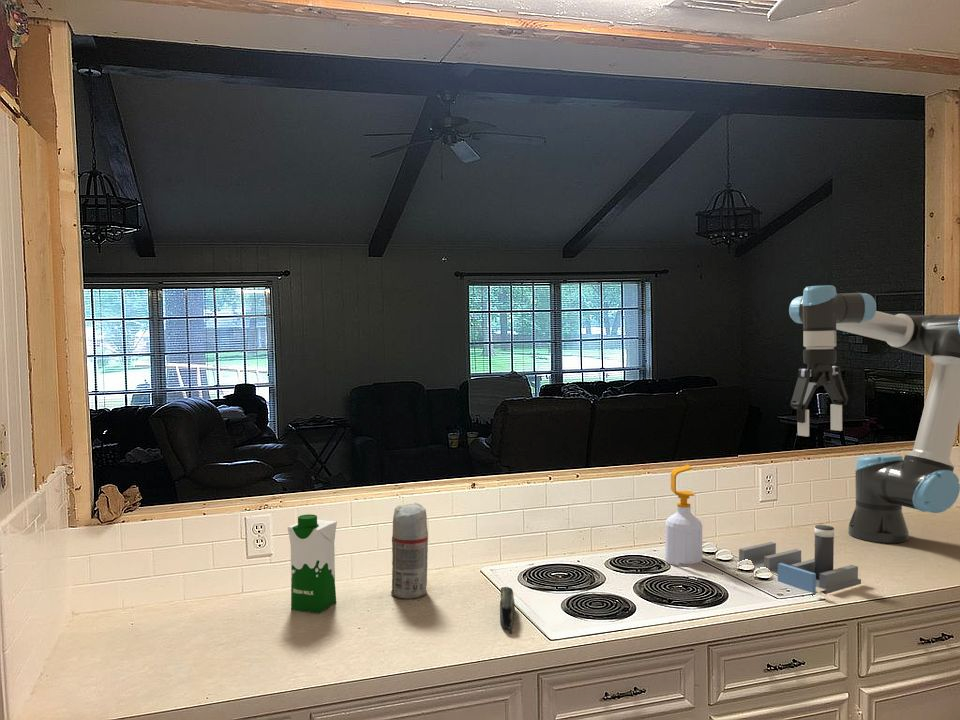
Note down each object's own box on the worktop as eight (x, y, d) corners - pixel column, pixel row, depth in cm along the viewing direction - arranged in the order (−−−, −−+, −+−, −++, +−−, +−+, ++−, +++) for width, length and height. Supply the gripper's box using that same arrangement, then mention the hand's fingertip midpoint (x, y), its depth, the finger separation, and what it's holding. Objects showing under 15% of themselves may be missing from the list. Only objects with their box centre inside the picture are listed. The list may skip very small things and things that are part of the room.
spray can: (435, 590, 174) (434, 503, 173) (417, 602, 167) (416, 511, 166) (403, 585, 178) (402, 500, 177) (384, 596, 170) (383, 507, 169)
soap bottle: (706, 567, 189) (706, 469, 188) (669, 567, 189) (669, 469, 188) (696, 556, 198) (697, 462, 197) (661, 556, 198) (661, 462, 197)
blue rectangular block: (780, 584, 176) (781, 562, 176) (815, 595, 169) (815, 573, 169) (777, 585, 176) (777, 563, 176) (812, 596, 168) (812, 574, 168)
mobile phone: (498, 585, 164) (500, 608, 149) (512, 584, 164) (515, 608, 149) (499, 608, 164) (500, 634, 149) (513, 607, 164) (516, 634, 149)
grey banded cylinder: (821, 574, 180) (821, 524, 180) (837, 579, 177) (838, 528, 176) (809, 577, 178) (810, 526, 178) (826, 582, 174) (826, 530, 174)
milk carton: (284, 610, 162) (283, 517, 161) (307, 596, 171) (306, 508, 170) (321, 615, 159) (319, 520, 158) (342, 601, 168) (341, 510, 167)
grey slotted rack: (770, 556, 198) (770, 541, 198) (861, 583, 176) (861, 566, 176) (736, 564, 191) (736, 548, 191) (825, 594, 170) (826, 576, 170)
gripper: (835, 345, 199) (835, 426, 200) (774, 350, 186) (775, 436, 187) (863, 346, 193) (863, 429, 194) (802, 350, 180) (802, 440, 181)
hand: (820, 433), depth 190 cm, fingers open, 13 cm apart
